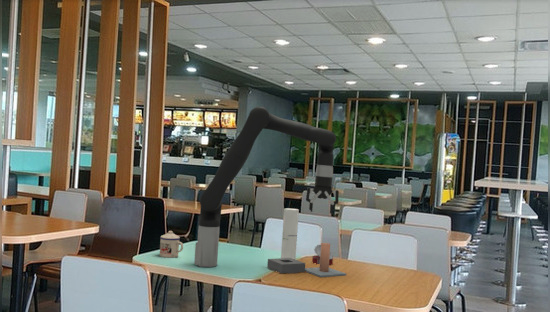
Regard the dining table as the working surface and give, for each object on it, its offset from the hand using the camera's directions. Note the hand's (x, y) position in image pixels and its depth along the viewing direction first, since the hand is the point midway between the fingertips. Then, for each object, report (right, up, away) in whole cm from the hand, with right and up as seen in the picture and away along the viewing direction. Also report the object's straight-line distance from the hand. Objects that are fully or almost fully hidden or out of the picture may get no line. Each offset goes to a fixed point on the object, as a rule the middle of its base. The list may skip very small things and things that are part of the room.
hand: (321, 212), depth 223 cm
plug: (+1, -26, -1) cm, 26 cm away
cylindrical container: (-14, -26, +21) cm, 37 cm away
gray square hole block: (-16, -25, -1) cm, 30 cm away
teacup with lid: (-69, -22, +13) cm, 74 cm away
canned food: (+3, -27, +21) cm, 35 cm away
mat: (+1, -27, -1) cm, 27 cm away
